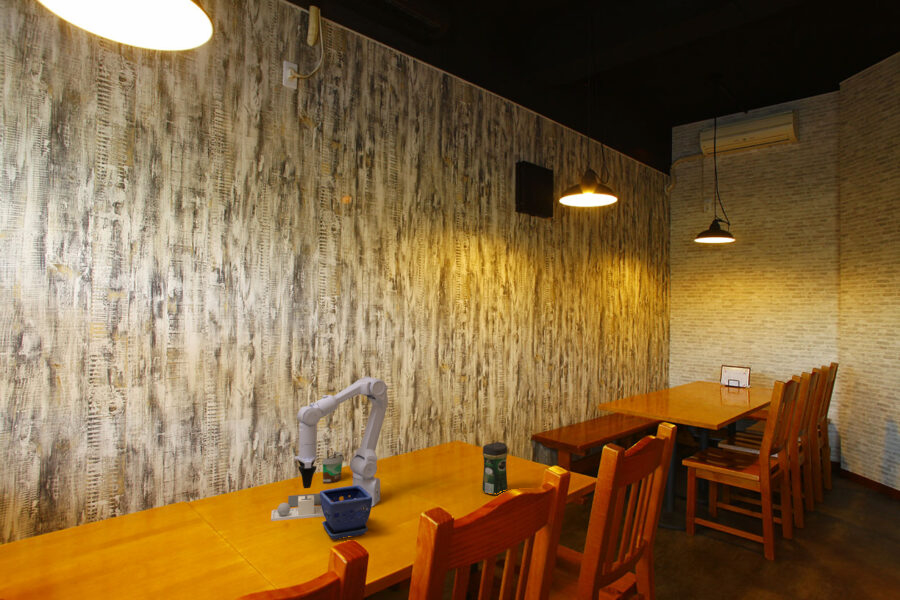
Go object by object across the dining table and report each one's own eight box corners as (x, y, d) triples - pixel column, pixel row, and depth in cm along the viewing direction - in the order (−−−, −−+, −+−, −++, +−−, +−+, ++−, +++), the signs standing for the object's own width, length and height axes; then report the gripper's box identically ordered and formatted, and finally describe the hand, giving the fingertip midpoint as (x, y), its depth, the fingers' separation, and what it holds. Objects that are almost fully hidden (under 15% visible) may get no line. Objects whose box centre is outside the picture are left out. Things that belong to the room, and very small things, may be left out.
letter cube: (313, 510, 176) (313, 494, 176) (313, 515, 171) (314, 499, 171) (297, 511, 175) (298, 496, 175) (298, 516, 170) (298, 501, 170)
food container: (336, 485, 203) (336, 460, 203) (321, 484, 204) (322, 458, 204) (348, 476, 215) (349, 452, 215) (334, 475, 216) (335, 451, 216)
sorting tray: (337, 507, 180) (337, 504, 180) (339, 515, 172) (339, 512, 172) (271, 513, 173) (271, 510, 173) (271, 521, 166) (271, 518, 166)
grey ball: (292, 513, 172) (292, 501, 172) (285, 518, 168) (286, 505, 169) (281, 512, 173) (281, 500, 173) (274, 517, 169) (275, 504, 169)
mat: (319, 495, 192) (319, 493, 192) (321, 505, 181) (321, 503, 181) (288, 497, 189) (288, 495, 189) (288, 508, 178) (288, 506, 178)
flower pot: (328, 545, 150) (329, 503, 150) (317, 528, 162) (318, 489, 162) (372, 537, 156) (373, 496, 157) (359, 521, 168) (359, 484, 168)
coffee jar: (494, 486, 205) (495, 439, 206) (510, 491, 200) (511, 442, 200) (478, 492, 198) (479, 443, 199) (494, 497, 193) (495, 447, 193)
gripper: (295, 438, 179) (293, 478, 179) (295, 448, 166) (294, 492, 165) (316, 437, 182) (315, 477, 181) (318, 447, 168) (317, 490, 167)
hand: (306, 484), depth 173 cm, fingers open, 7 cm apart
